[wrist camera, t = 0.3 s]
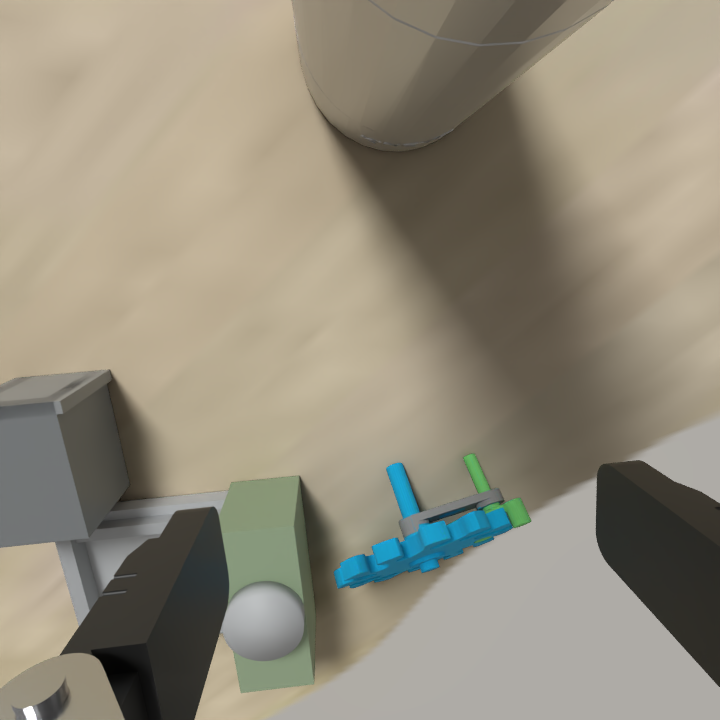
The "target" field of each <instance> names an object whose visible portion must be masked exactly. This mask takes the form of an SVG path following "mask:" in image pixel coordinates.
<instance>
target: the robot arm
mask: <svg viewBox="0 0 720 720" xmlns="http://www.w3.org/2000/svg"><path fill="white" fill-rule="evenodd" d="M612 1H614V0H292V6H293V13H294V22H295V30H296V36H297V43H298V50H299V56H300V63H301V67H302V70H303V74H304V77H305V81H306V85H307V87H308V89H309V91H310V93H311V95H312V97H313V99H314V101H315V103H316V105H317V107H318V108H319V109H320V110H321V112H322V113H323V114H324V116H325V117H326V118H327V120H328V121H329V122H330V123H331V124H332V125H333V126H334V127H336V128H337V129H338V130H339V131H340V132H341V133H343V134H344V135H345V136H346V137H348V138H350V139H352V140H354V141H356V142H358V143H359V144H361V145H363V146H367V147H370V148H374V149H378V150H381V151H399V152H402V151H407V150H412V149H418V148H421V147H424V146H426V145H428V144H431V143H433V142H435V141H437V140H439V139H440V138H442V137H443V136H445V135H446V134H448V133H450V132H452V131H453V130H454V128H456V127H457V126H458V125H459V124H460V123H462V122H463V121H464V120H465V119H467V118H468V117H470V116H471V115H472V114H473V113H475V112H476V111H477V110H478V109H480V108H481V107H482V106H483V105H485V104H486V103H487V102H488V101H490V100H491V99H492V98H493V97H495V96H496V95H497V94H498V93H500V92H501V91H502V90H503V89H505V88H506V87H507V86H508V85H510V84H511V83H512V82H513V81H515V80H516V79H517V78H518V77H520V76H521V75H522V74H523V73H525V72H526V71H527V70H528V69H530V68H531V67H532V66H533V65H534V64H536V63H537V62H538V61H539V60H541V59H542V58H543V57H544V56H546V55H547V54H548V53H549V52H551V51H552V50H553V49H554V48H556V47H557V46H558V45H559V44H561V43H562V42H563V41H564V40H566V39H567V38H568V37H569V36H571V35H572V34H573V33H574V32H576V31H577V30H578V29H579V28H581V27H582V26H583V25H584V24H586V23H587V22H588V21H589V20H591V19H592V18H593V17H594V16H596V15H597V14H598V13H599V12H600V11H602V10H603V9H604V8H605V7H607V6H608V5H609V4H610V3H611V2H612ZM596 505H597V506H596V537H597V542H598V546H599V548H600V551H601V553H602V555H603V557H604V559H605V560H606V562H607V563H608V565H609V566H610V567H611V568H612V569H613V570H614V571H615V572H616V573H617V574H618V576H619V577H620V578H621V579H622V580H623V581H624V582H625V583H626V584H627V586H628V587H629V588H630V589H631V590H632V591H633V592H634V593H635V594H636V595H637V597H638V598H639V599H640V600H641V601H642V602H643V603H644V604H645V605H646V607H647V608H648V609H649V610H650V611H651V612H652V613H653V614H654V615H655V616H656V618H657V619H658V620H659V621H660V622H661V623H662V624H663V625H664V626H665V627H666V629H667V630H669V632H670V633H671V634H672V635H673V636H674V637H675V639H676V640H677V641H678V642H679V643H680V644H681V645H682V646H683V647H684V648H685V650H686V651H687V652H688V653H689V654H690V655H691V656H692V657H693V658H694V659H695V661H696V662H697V663H698V664H699V665H700V666H701V667H702V668H703V669H704V670H705V672H706V673H708V675H709V676H710V677H711V678H712V679H713V680H714V682H715V683H716V684H717V685H718V686H719V687H720V503H718V502H716V501H715V500H713V499H711V498H710V497H709V496H707V495H705V494H703V493H702V492H700V491H698V490H695V489H692V488H690V487H687V486H685V485H682V484H679V483H677V482H674V481H672V480H671V479H670V478H668V477H666V476H665V475H663V474H662V473H660V472H659V471H657V470H656V469H654V468H652V467H651V466H650V465H648V464H646V463H645V462H643V461H640V460H636V461H627V462H618V463H609V464H603V465H601V466H600V468H599V470H598V473H597V501H596ZM102 593H103V594H102V596H101V597H99V598H98V600H97V601H96V603H95V604H94V605H93V607H92V608H91V610H90V611H89V613H88V614H87V616H86V617H85V619H84V620H83V622H82V623H81V625H80V626H79V628H78V629H77V631H76V632H75V633H74V635H73V636H72V638H71V639H70V641H69V642H68V644H67V645H66V647H65V648H64V650H63V651H62V653H61V654H60V656H57V657H53V658H51V659H48V660H45V661H43V662H41V663H39V664H36V665H34V666H33V667H31V668H29V669H27V670H25V671H24V672H22V673H21V674H19V675H18V676H16V677H15V678H13V679H12V680H11V681H9V682H8V683H7V684H6V685H4V686H3V687H2V688H1V689H0V720H194V719H195V715H196V712H197V709H198V705H199V702H200V698H201V695H202V692H203V688H204V685H205V681H206V678H207V675H208V671H209V668H210V664H211V661H212V657H213V654H214V651H215V647H216V644H217V640H218V637H219V634H220V630H221V627H222V623H223V620H224V617H225V613H226V610H227V606H228V599H229V574H228V567H227V561H226V555H225V549H224V543H223V538H222V532H221V526H220V520H219V515H218V512H217V509H216V508H215V507H214V506H212V507H203V508H194V509H185V510H177V511H175V513H174V514H173V515H172V517H171V519H170V520H169V522H168V524H167V525H166V527H165V529H164V530H163V532H162V534H161V535H160V537H159V538H151V539H148V540H146V541H145V542H144V543H143V544H142V545H140V546H139V547H138V548H137V549H135V550H134V551H133V552H132V553H130V554H129V555H128V556H127V557H126V558H125V560H124V561H123V563H122V564H121V566H120V567H119V569H118V570H117V572H116V573H115V575H114V579H112V580H110V582H109V583H108V585H107V586H106V588H105V589H104V591H103V592H102Z"/></svg>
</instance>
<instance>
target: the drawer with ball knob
mask: <svg viewBox="0 0 720 720" xmlns="http://www.w3.org/2000/svg"><path fill="white" fill-rule="evenodd" d="M212 506H214V507H215V508H216V509H217V512H218V515H219V520H220V526H221V532H222V538H223V543H224V549H225V555H226V561H227V567H228V574H229V599H228V606H227V610H226V613H225V617H224V620H223V623H222V627H221V630H220V633H223V635H224V638H225V641H226V643H227V644H228V646H229V647H230V648H231V649H232V650H233V653H234V658H235V664H236V669H237V675H238V680H239V686H240V691H241V693H245V692H254V691H262V690H270V689H278V688H286V687H294V686H303V685H311V684H314V672H315V634H316V609H315V601H314V593H313V585H312V576H311V568H310V560H309V552H308V543H307V535H306V527H305V519H304V510H303V502H302V494H301V486H300V478H299V476H291V477H281V478H271V479H262V480H252V481H242V482H232V483H231V485H230V488H229V491H219V492H209V493H200V494H190V495H180V496H170V497H161V498H151V499H141V500H131V501H122V502H116V504H115V505H114V506H113V508H112V509H111V510H110V512H109V513H108V514H107V515H106V517H105V518H104V519H103V521H102V522H101V523H100V524H99V526H98V527H97V528H96V530H95V531H94V532H93V534H92V535H91V536H90V537H89V538H86V539H76V540H67V541H58V542H55V543H56V547H57V550H58V554H59V557H60V561H61V564H62V568H63V571H64V575H65V578H66V582H67V586H68V589H69V593H70V596H71V600H72V603H73V607H74V610H75V614H76V617H77V621H78V624H79V626H80V625H81V623H82V622H83V620H84V619H85V617H86V616H87V614H88V613H89V611H90V610H91V608H92V607H93V605H94V604H95V603H96V601H97V600H98V598H99V597H101V596H102V594H103V593H102V592H103V591H104V589H105V588H106V586H107V585H108V583H109V582H110V580H112V579H114V575H115V573H116V572H117V570H118V569H119V567H120V566H121V564H122V563H123V561H124V560H125V558H126V557H127V556H128V555H129V554H130V553H132V552H133V551H134V550H135V549H137V548H138V547H139V546H140V545H142V544H143V543H144V542H145V541H146V540H148V539H151V538H159V537H160V535H161V534H162V532H163V530H164V529H165V527H166V525H167V524H168V522H169V520H170V519H171V517H172V515H173V514H174V513H175V511H177V510H185V509H194V508H203V507H212Z"/></svg>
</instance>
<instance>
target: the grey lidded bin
mask: <svg viewBox="0 0 720 720" xmlns="http://www.w3.org/2000/svg"><path fill="white" fill-rule="evenodd" d="M111 380H112V378H111V374H110V370H99V371H88V372H77V373H66V374H55V375H44V376H33V377H22V378H14V379H12V380H10V381H8V382H6V383H3V384H1V385H0V548H1V547H11V546H20V545H29V544H39V543H48V542H58V541H67V540H76V539H86V538H89V537H90V536H91V535H92V534H93V532H94V531H95V530H96V528H97V527H98V526H99V524H100V523H101V522H102V521H103V519H104V518H105V517H106V515H107V514H108V513H109V512H110V510H111V509H112V508H113V506H114V505H115V504H116V502H117V501H118V500H119V499H120V497H121V496H122V495H123V493H124V492H125V491H126V490H127V488H128V487H129V486H130V483H129V478H128V474H127V469H126V465H125V461H124V456H123V452H122V447H121V443H120V439H119V434H118V430H117V425H116V421H115V417H114V412H113V408H112V404H111V399H110V395H109V390H108V386H107V383H108V382H110V381H111Z"/></svg>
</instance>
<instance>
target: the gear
mask: <svg viewBox="0 0 720 720" xmlns="http://www.w3.org/2000/svg"><path fill="white" fill-rule="evenodd" d="M463 459H464V461H465V464H466V466H467V468H468V471H469V473H470V475H471V477H472V480H473V482H474V484H475V487H476V489H477V491H478V494H476V495H473V496H469V497H466V498H463V499H460V500H457V501H454V502H451V503H448V504H445V505H441V506H438V507H435V508H432V509H429V510H426V511H423V512H420V511H419V508H418V505H417V503H416V500H415V497H414V494H413V492H412V489H411V486H410V483H409V481H408V478H407V475H406V472H405V470H404V467H403V464H402V463H396V464H392V465H390V466H389V467H387V468H386V470H387V473H388V476H389V479H390V482H391V485H392V487H393V490H394V493H395V496H396V499H397V502H398V505H399V508H400V511H401V514H402V517H403V519H402V520H400V521H399V525H400V528H401V531H402V534H403V537H404V540H405V541H403V542H400V543H399V540H398V538H392V539H389V540H387V541H384V542H381V543H379V544H376V545H374V546H372V549H373V553H374V555H370V556H365V554H361V555H357V556H354V557H351V558H349V559H347V560H345V561H343V562H341V563H340V566H341V568H338V569H337V570H335V571H334V576H335V580H336V584H337V587H338V589H339V588H343V587H346V586H350V588H356V587H359V586H362V585H364V584H366V583H369V582H371V581H374V582H380V581H384V580H387V579H390V578H392V577H394V576H396V575H398V574H400V573H402V572H404V571H407V570H408V572H412V571H416V570H419V569H421V572H422V573H424V572H428V571H431V570H433V569H436V568H438V567H440V566H439V563H438V560H439V559H441V558H443V559H444V560H445V559H449V558H451V557H454V556H457V555H459V554H462V553H464V552H463V550H462V549H463V548H466V547H469V546H472V545H473V547H476V546H480V545H482V544H485V543H487V542H489V541H491V540H494V538H493V536H497V535H500V534H503V533H505V532H507V531H509V530H510V529H512V528H516V527H520V526H523V525H525V524H527V523H529V522H531V519H530V517H529V515H528V513H527V511H526V509H525V507H524V504H523V502H522V500H521V498H516V499H513V500H510V501H508V502H506V503H504V504H503V505H500V504H501V503H503V502H504V499H503V497H502V494H501V492H500V490H499V489H498V488H496V489H490V487H489V485H488V483H487V480H486V478H485V476H484V474H483V471H482V469H481V467H480V465H479V462H478V460H477V458H476V456H475V454H469V455H467V456H465V457H464V458H463ZM473 508H476V509H477V511H473V512H470V513H468V514H466V515H464V516H462V517H461V518H459V519H457V520H456V521H454V522H452V523H450V524H448V525H446V524H445V522H444V521H439V522H435V523H432V524H430V522H434V521H437V520H440V519H443V518H446V517H449V516H452V515H455V514H458V513H461V512H464V511H467V510H470V509H473ZM506 513H507V514H506ZM507 515H508V516H507ZM508 517H509V518H508ZM509 519H510V520H509ZM510 521H511V523H510ZM511 524H512V525H511ZM512 526H513V527H512Z"/></svg>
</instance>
